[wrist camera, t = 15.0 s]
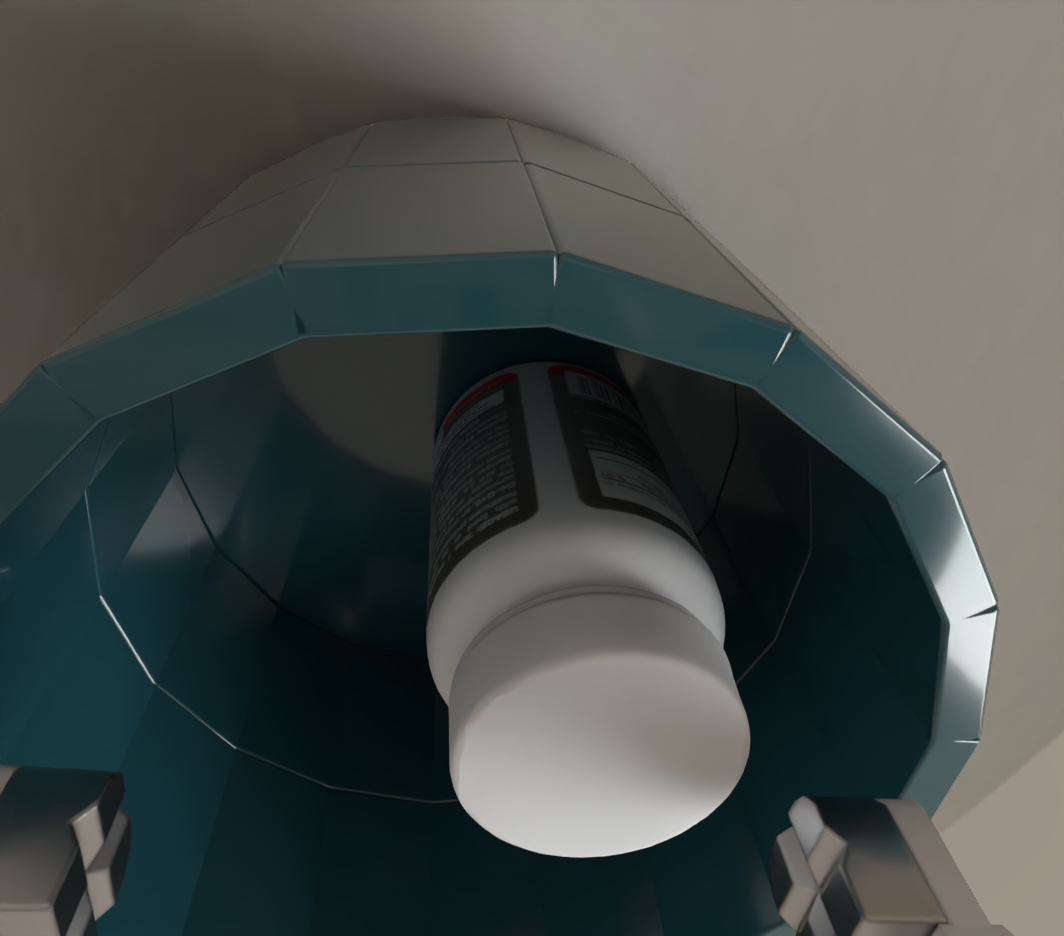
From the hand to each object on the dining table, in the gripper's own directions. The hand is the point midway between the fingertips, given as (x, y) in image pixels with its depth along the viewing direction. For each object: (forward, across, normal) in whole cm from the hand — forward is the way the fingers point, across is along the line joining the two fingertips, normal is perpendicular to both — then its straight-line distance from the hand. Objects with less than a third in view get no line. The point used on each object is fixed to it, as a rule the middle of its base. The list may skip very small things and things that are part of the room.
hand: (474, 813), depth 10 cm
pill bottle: (+9, -2, 0) cm, 9 cm away
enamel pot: (+10, 0, 0) cm, 10 cm away
